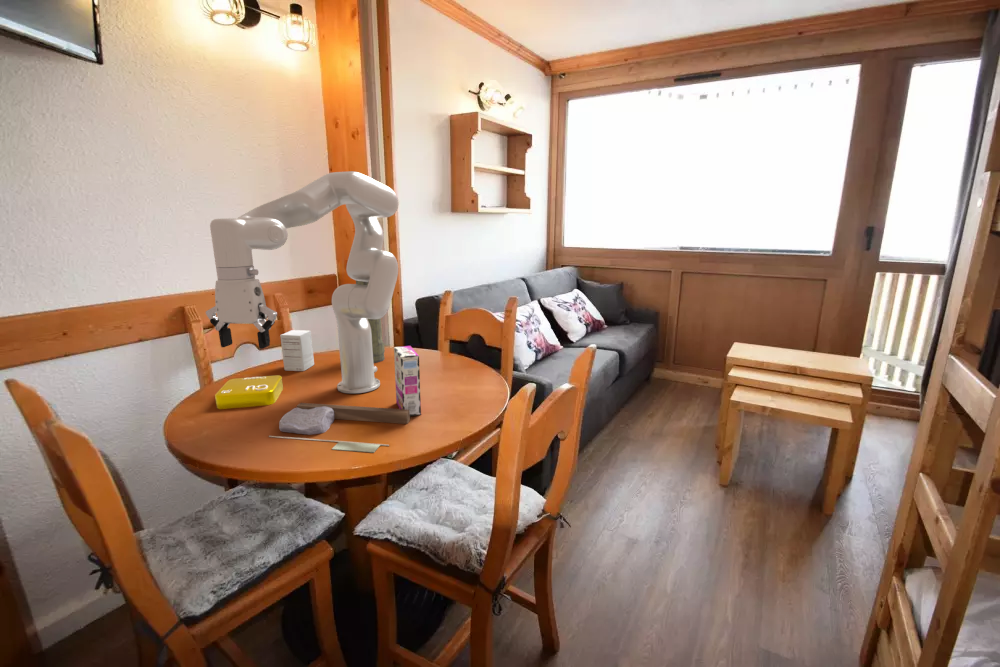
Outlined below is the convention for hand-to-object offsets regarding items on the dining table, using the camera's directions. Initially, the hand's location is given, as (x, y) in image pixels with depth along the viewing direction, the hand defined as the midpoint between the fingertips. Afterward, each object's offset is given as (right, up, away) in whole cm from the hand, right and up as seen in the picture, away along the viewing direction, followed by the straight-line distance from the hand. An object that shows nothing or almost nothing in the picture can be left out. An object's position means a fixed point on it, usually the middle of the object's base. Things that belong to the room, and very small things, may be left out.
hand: (245, 346), depth 113 cm
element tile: (-12, -16, +26) cm, 33 cm away
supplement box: (-9, -9, +53) cm, 54 cm away
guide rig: (+21, -21, +4) cm, 30 cm away
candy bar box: (+35, -18, +17) cm, 43 cm away
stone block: (+12, -21, +6) cm, 25 cm away
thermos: (+13, -7, +62) cm, 64 cm away
